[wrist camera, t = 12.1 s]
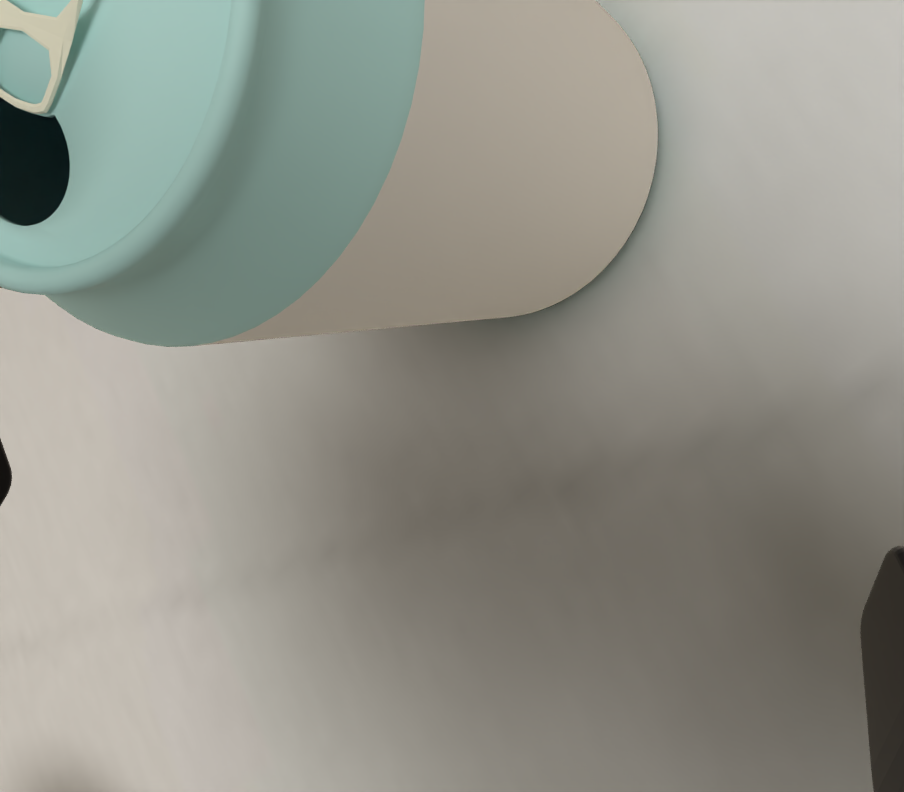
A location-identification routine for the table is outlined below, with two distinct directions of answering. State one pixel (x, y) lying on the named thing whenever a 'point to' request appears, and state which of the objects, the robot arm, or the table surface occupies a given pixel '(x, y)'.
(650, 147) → the can
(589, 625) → the table surface
